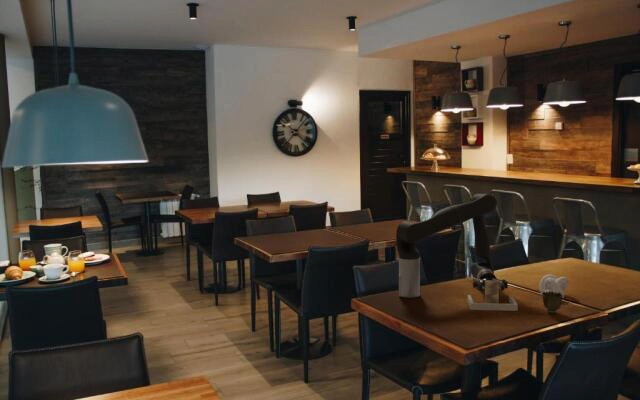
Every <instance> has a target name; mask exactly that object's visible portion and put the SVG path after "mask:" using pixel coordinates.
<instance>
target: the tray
mask: <svg viewBox="0 0 640 400" xmlns="http://www.w3.org/2000/svg"><path fill="white" fill-rule="evenodd" d="M467 302H468V303H467V304H468V306H469V309H470V310H471V311H473V310H474V311H507V312H508V311H514V312H516V311H517V312H518V305H519V304H518V303H517V301H516V300H515V298H514V297H513V295H509V296H508V303H499V304H497V303H485V302H483V303H482V302H474V300H473V298H472V295H471V294H467Z"/></svg>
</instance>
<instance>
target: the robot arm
mask: <svg viewBox="0 0 640 400" xmlns="http://www.w3.org/2000/svg"><path fill="white" fill-rule="evenodd" d="M497 205H498V201H497V198H496V197H495V196H494V195H493V194H490V193H475V194H473V196H472V197H471V199H470V200H469V202H466V203H459V204H455V205H450V206H446V207H444V208H441V209H439V210H437V211H436V212H435V213H434V214H433V215H432V216H431V217H430V218H428V219H425V220H423V221H420V222H419V221H418V222H413V221H412V222H411V221H408V220H407V221H405V220H403V221H401V222H400V223H399V224H398V226H397V227H396V231H395V232H396V233H395V234H396V236H395V237H396V238H395V239H396V240H395V241H396V250H397V254H398V297H401V298H408V299H409V298H410V299H411V298H418V297H420V295H421V289H420V288H421V283H420V282H421V277H420V275H421V273H420V272H421V263H420V262H421V261H420V259H421V257H420V255H421V253H420V251H419V249H417V247H416V244H417V243H420V242H422V241H423V240H425V239H427V238H430V237H431V236H433V235H435V234H438V233H441V232H443V231H446V230H448V229H451V228H453V227H456V226H458V225H460V224H463V223H465V222H467V221H469V220H471V219H472V225H473V232H474V256H475V257H476V258H480V259H483V260H485V262H474V263H472V264H471V266H470V273H471V276H472V277H473V278H472V288H473V289H478V290H480V291H483V289H484V290H485V280H492V281H498V283H499V289H500V291H501V292H502V291H505V290H506V289H508V288H509V287H508V284H509V282H508V281H507V280H506V279H502V280H499V279H497V276H496V274H495V267H494V265H493V262H492V257H491V239H490V234H489V232H488V229H487V227H486V224H485V215H487V214H490V213H492V212H494V211H495V210H496V208H497Z"/></svg>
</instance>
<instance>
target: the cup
mask: <svg viewBox="0 0 640 400" xmlns="http://www.w3.org/2000/svg"><path fill="white" fill-rule="evenodd" d="M542 294H543V295H542ZM542 294H541V295H542V302H543V306H544V307H545V309H547V310H546V312H547V313H548V314H550V315H555V314H557V312H558V310H559V309H560V308H561V306H562V303H563V298H562V296H563V295H561V294H560V292H558V293H556V292H555V294H554V292H553V291H552V292H550V291H549V292H546V293H545V292H542Z"/></svg>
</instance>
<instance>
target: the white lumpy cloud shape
mask: <svg viewBox="0 0 640 400" xmlns="http://www.w3.org/2000/svg"><path fill="white" fill-rule="evenodd" d="M568 285H569V279H568V278H567V277H566V276H561V277H559V278H558V277H557V276H556V275H554V274H551V273H550V274H546V275H544V276H543V277H542V278H541V280H540V281H539V285H538V286H539V287H538V288H539V290H538V291H539V292H540V294H541V295H542V296H543V294H542V292H545V293H546V292H549V291H550V292H552V291H553V292H554V294H555V292H556V293H558V292H560V294H561V295H563V296H562V299H564V297H565V292H564V291H566V289H567V288H568Z"/></svg>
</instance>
